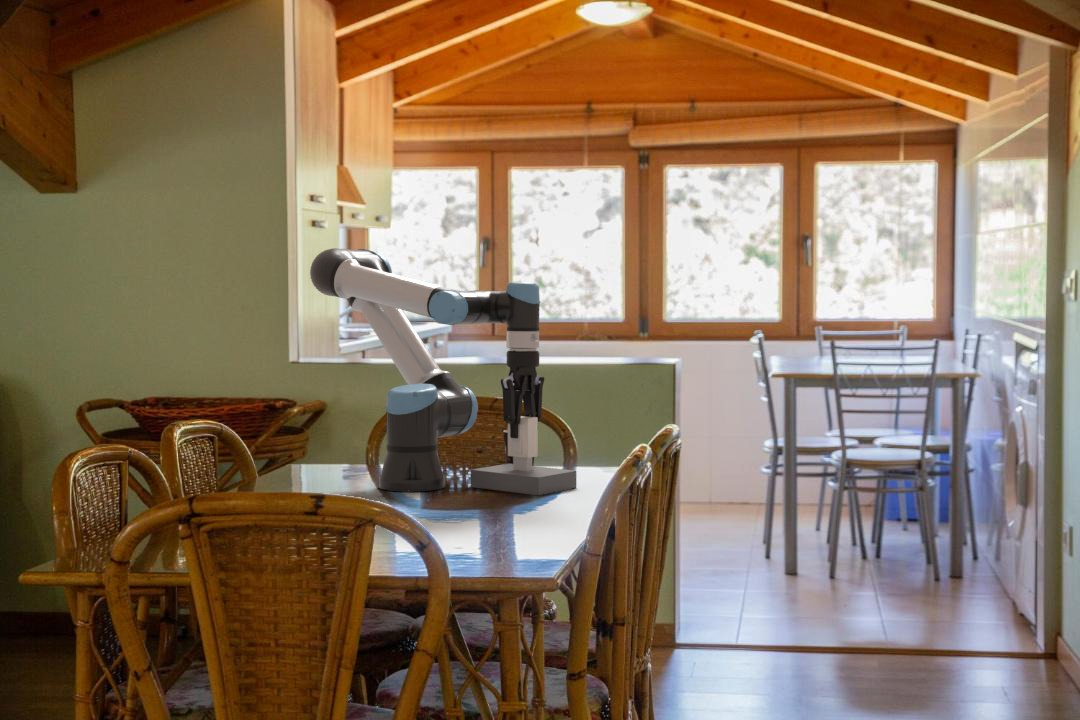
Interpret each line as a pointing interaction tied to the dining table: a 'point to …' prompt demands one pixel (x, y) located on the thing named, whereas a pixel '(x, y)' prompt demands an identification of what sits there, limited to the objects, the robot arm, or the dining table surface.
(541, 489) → the header
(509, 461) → the coffee mug
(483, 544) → the dining table surface
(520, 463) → the plug
